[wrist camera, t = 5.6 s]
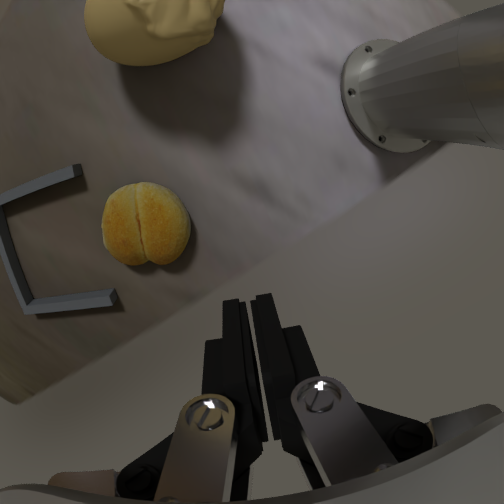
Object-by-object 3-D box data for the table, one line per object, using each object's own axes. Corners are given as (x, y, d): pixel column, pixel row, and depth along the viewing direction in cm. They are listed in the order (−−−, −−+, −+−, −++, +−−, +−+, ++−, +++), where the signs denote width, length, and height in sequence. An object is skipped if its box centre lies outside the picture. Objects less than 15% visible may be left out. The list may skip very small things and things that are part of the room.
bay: (80, 163, 25) (72, 165, 24) (117, 297, 31) (112, 305, 29) (-6, 198, 25) (-15, 201, 23) (31, 307, 31) (24, 314, 29)
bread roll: (194, 258, 30) (189, 275, 26) (114, 259, 30) (101, 275, 26) (190, 178, 27) (184, 183, 24) (105, 183, 27) (88, 190, 23)
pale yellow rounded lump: (232, 62, 23) (234, 19, 13) (111, 87, 23) (55, 66, 13) (221, -27, 19) (219, -87, 9) (109, -2, 19) (66, -45, 9)
